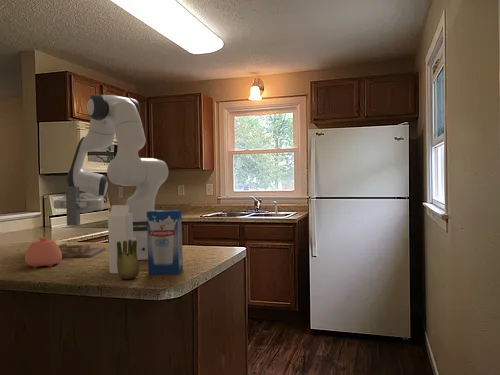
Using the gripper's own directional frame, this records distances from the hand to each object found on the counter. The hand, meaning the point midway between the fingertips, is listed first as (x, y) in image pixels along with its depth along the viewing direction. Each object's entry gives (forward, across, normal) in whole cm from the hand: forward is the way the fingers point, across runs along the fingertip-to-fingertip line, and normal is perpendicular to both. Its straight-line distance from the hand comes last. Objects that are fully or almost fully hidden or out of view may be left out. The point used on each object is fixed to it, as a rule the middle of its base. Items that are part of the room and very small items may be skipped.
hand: (72, 205), depth 177 cm
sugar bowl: (+22, -2, +21) cm, 30 cm away
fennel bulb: (+48, +36, +20) cm, 63 cm away
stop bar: (-1, 0, +8) cm, 9 cm away
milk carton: (+40, +46, +20) cm, 64 cm away
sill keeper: (0, 0, +21) cm, 21 cm away
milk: (+38, +30, +20) cm, 52 cm away
